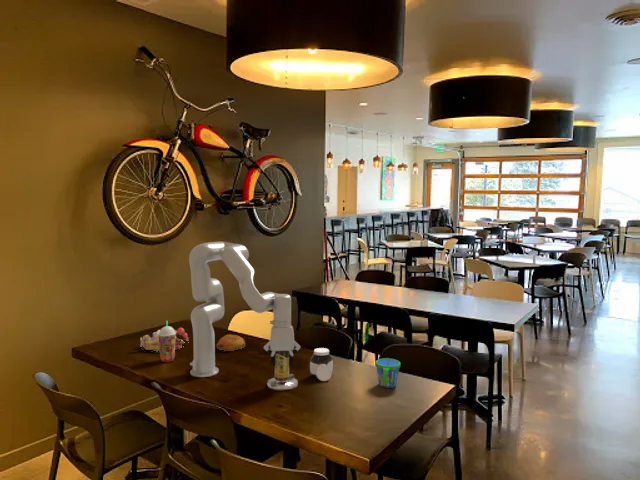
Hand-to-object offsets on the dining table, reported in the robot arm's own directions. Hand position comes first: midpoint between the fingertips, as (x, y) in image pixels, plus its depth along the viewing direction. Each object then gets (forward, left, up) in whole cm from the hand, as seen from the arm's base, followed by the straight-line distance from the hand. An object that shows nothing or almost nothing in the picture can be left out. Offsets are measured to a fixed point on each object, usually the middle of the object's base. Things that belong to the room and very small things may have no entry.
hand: (282, 364), depth 203 cm
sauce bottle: (0, 0, -7) cm, 7 cm away
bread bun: (-57, +22, -9) cm, 62 cm away
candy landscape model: (-88, +3, -9) cm, 89 cm away
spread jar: (+8, +18, -9) cm, 22 cm away
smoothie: (-66, -11, -9) cm, 67 cm away
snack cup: (+36, +27, -9) cm, 46 cm away
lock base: (0, 0, -9) cm, 9 cm away
